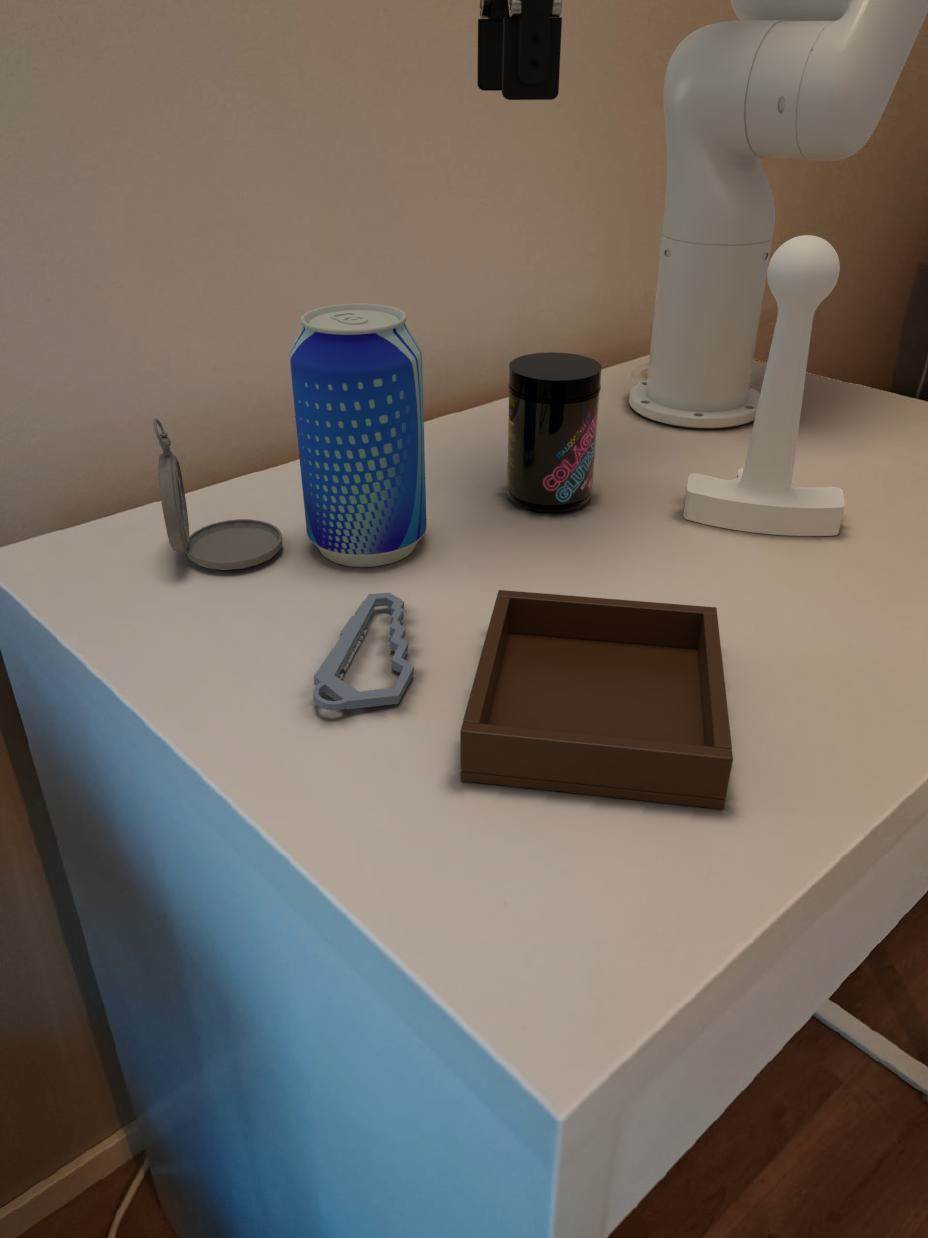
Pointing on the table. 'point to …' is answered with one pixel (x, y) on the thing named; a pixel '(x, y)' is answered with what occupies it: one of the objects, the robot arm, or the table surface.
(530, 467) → the supplement container
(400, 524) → the beer can
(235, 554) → the pocket watch
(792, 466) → the joystick
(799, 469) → the table surface
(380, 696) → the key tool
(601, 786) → the tray
